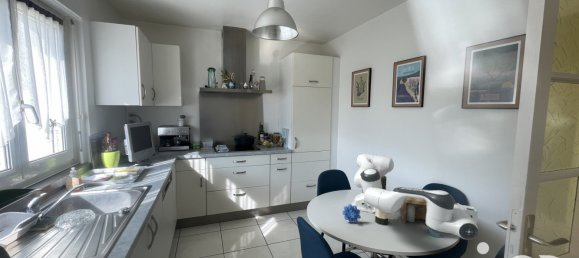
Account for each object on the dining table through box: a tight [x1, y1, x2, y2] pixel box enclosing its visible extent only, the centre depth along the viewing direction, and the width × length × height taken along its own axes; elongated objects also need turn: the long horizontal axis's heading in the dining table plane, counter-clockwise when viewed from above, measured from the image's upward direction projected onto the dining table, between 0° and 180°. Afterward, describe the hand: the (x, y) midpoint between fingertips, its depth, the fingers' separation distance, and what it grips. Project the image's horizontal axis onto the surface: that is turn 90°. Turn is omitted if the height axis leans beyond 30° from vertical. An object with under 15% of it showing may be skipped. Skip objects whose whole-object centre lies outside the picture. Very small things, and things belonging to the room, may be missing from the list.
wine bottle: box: [374, 175, 390, 226], centre depth 147 cm, size 8×8×30 cm
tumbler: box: [427, 227, 441, 239], centre depth 134 cm, size 6×6×11 cm
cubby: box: [399, 197, 427, 225], centre depth 147 cm, size 22×16×17 cm
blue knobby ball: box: [342, 203, 361, 224], centre depth 146 cm, size 12×7×12 cm, turn 93°
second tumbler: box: [405, 203, 416, 223], centre depth 152 cm, size 6×6×11 cm
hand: (445, 203), depth 122 cm, fingers open, 8 cm apart
